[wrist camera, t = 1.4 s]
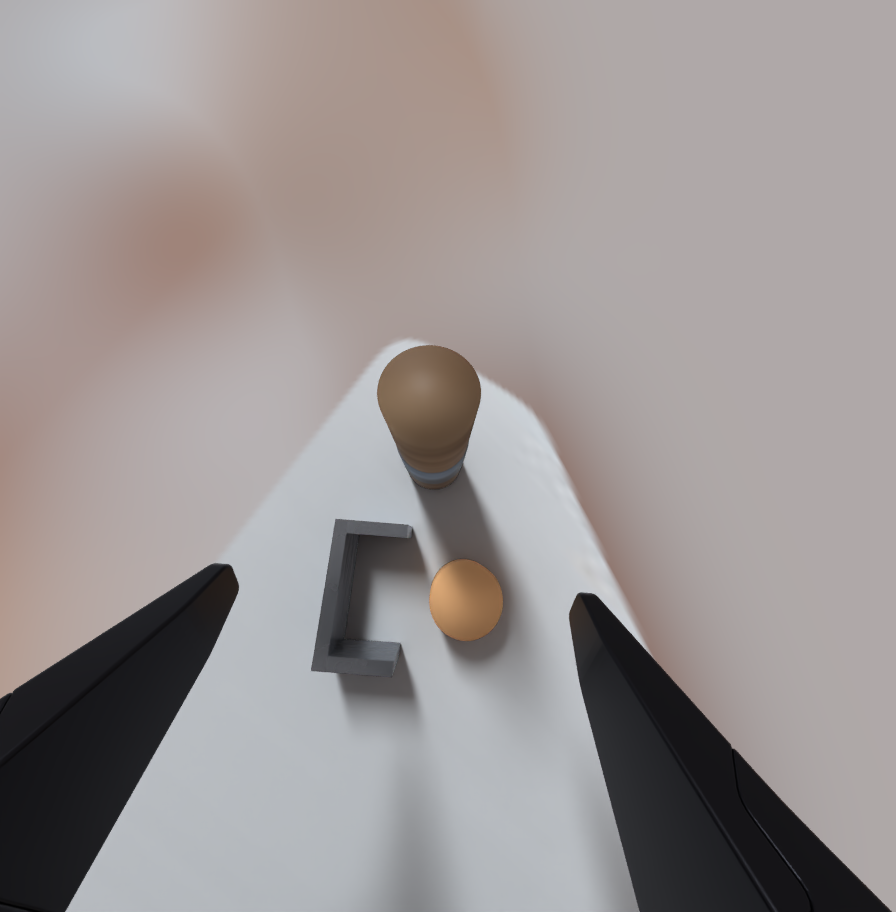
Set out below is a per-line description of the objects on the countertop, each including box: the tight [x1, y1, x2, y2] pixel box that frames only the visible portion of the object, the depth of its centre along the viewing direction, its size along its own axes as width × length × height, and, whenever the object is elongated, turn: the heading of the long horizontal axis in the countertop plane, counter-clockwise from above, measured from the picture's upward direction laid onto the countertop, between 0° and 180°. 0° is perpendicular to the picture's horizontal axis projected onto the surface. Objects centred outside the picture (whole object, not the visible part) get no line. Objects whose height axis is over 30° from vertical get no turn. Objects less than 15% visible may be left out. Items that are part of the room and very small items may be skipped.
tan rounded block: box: [429, 559, 503, 641], centre depth 19 cm, size 4×4×2 cm
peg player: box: [377, 345, 481, 490], centre depth 17 cm, size 4×4×11 cm
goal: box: [311, 519, 412, 677], centre depth 19 cm, size 7×4×3 cm, turn 176°
